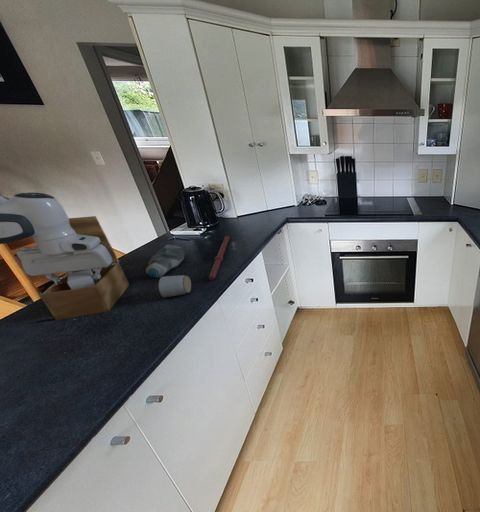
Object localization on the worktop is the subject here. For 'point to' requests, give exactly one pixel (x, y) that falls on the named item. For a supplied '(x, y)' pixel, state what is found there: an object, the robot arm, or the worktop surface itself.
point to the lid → (92, 231)
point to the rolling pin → (219, 258)
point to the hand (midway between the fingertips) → (79, 281)
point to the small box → (81, 279)
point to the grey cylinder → (174, 285)
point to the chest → (86, 294)
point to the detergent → (165, 260)
